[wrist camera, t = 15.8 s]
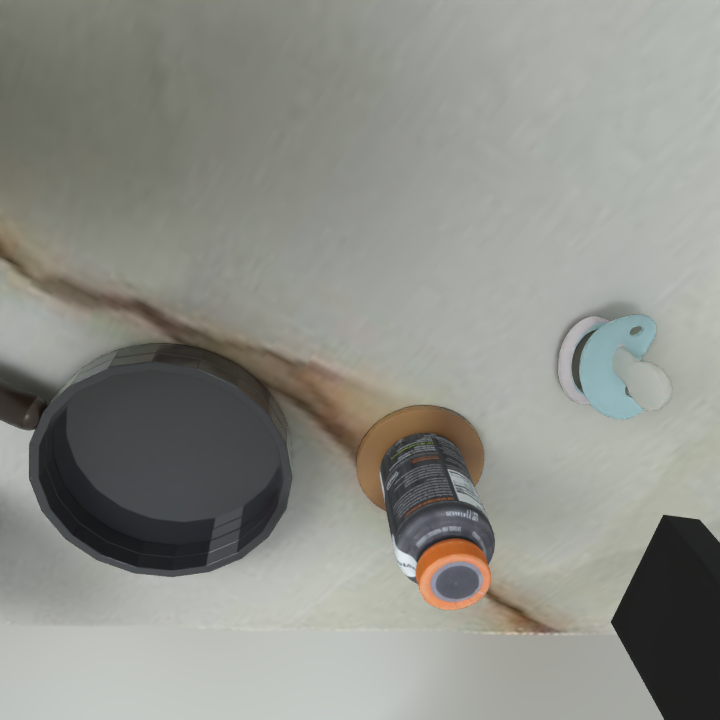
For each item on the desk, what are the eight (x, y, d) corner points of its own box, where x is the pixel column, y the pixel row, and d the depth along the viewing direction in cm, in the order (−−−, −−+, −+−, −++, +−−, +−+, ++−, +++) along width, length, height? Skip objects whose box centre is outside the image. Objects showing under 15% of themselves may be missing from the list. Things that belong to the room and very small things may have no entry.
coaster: (344, 504, 47) (345, 509, 46) (371, 396, 43) (372, 400, 42) (462, 519, 48) (464, 524, 47) (497, 415, 44) (500, 419, 44)
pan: (44, 533, 46) (28, 562, 43) (48, 323, 39) (29, 342, 36) (272, 557, 48) (270, 587, 45) (310, 364, 42) (311, 385, 39)
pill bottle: (375, 501, 46) (396, 626, 36) (382, 429, 43) (406, 541, 33) (457, 501, 46) (500, 625, 36) (468, 430, 44) (518, 541, 34)
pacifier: (553, 408, 45) (638, 398, 45) (586, 458, 39) (684, 447, 39) (556, 310, 42) (648, 299, 42) (592, 349, 36) (698, 337, 36)
